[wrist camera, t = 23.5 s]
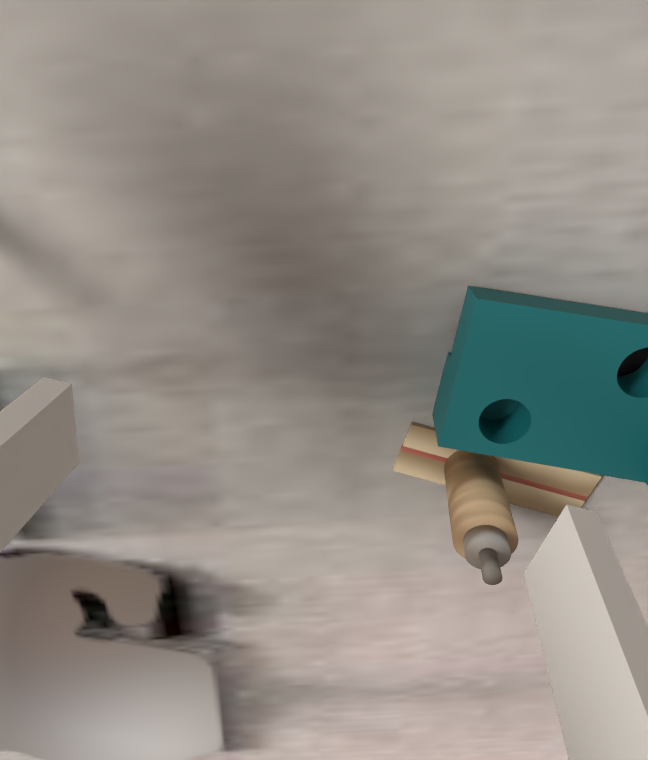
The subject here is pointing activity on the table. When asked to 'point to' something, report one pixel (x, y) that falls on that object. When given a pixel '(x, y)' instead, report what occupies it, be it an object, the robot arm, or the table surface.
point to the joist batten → (520, 478)
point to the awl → (479, 513)
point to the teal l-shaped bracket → (546, 384)
